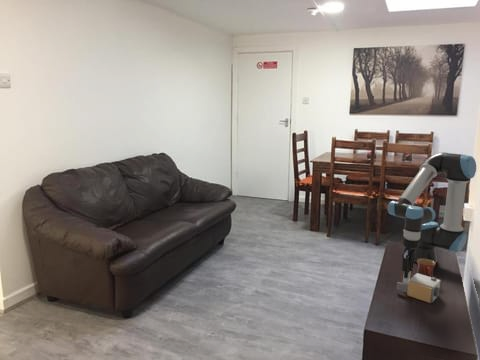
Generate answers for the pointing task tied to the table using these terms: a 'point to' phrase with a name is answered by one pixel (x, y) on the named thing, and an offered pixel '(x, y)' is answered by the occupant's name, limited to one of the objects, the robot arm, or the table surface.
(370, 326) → the table surface
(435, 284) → the housing
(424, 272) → the mug
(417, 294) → the door
